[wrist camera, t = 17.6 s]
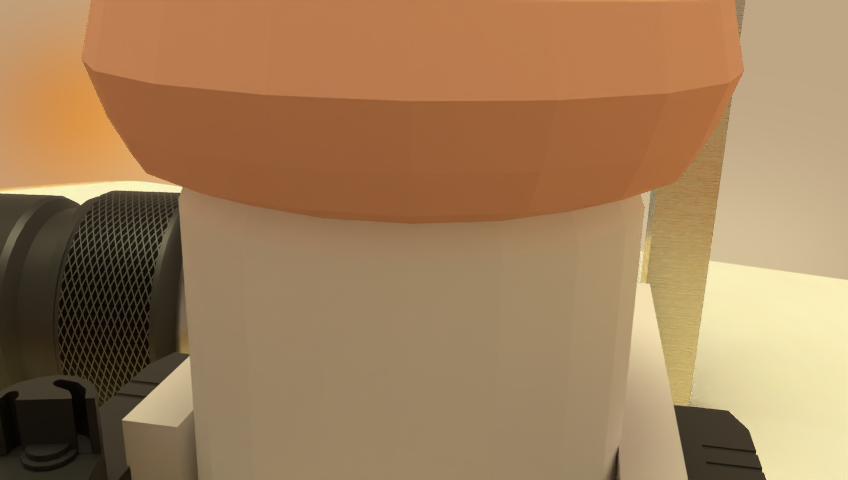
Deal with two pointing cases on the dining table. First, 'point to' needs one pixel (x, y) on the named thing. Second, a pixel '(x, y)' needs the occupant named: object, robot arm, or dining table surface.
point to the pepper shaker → (412, 217)
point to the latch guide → (684, 253)
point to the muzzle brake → (90, 287)
